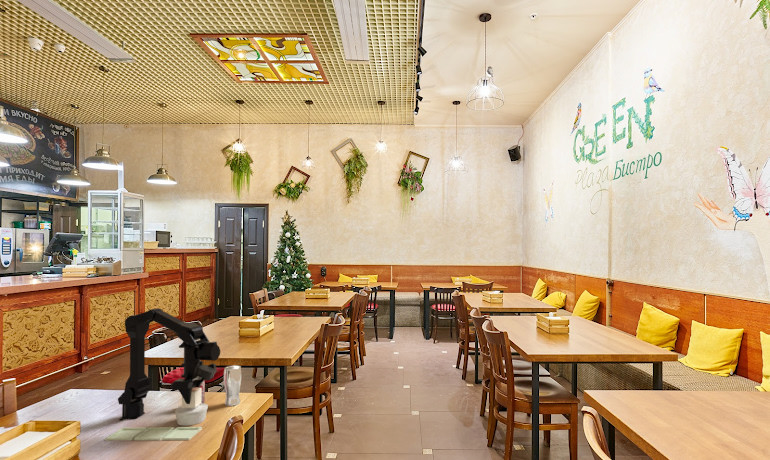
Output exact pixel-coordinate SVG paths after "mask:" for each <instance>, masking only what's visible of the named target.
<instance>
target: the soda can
mask: <svg viewBox="0 0 770 460" xmlns="http://www.w3.org/2000/svg"><path fill="white" fill-rule="evenodd" d="M205 381H206V380H204V381H203V382H202V383H201V386H200V388H202V399H201V403H204V404H205V399H206V397H205V392H206V389H205V388H206V386H205V385H206V384H205Z"/></svg>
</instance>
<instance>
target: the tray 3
mask: <svg viewBox="0 0 770 460" xmlns="http://www.w3.org/2000/svg"><path fill="white" fill-rule="evenodd" d="M202 429H203V427H202V426H180V427H179V426H177V427H176V428H174V430H173V431H171V432H170V433H169V434H168V435H166V436H165V437H164V438H162V441H190V440H191V439H193V437H195V436H196V435H197V434H198V433H199V432H200V431H202Z"/></svg>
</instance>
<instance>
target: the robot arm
mask: <svg viewBox="0 0 770 460" xmlns="http://www.w3.org/2000/svg"><path fill="white" fill-rule="evenodd" d="M152 322H155V323H157V324H159V325H161V326H163V327H165V328H166V329H168V330H170V331H172V332H174V333H175V334H176V336H177V338H178V339H180V340H181V341H182V343H180V344H179V345H178V348H179V349H183V362H182V363H181V367H183V373H182V374H181V376H180V377H181V378H177V379H176V380H174V381H173V382H172V383H171V384H170V385H171V386H170V387H171V388H170V389H171V391H172V390H178V391H179V393H180V394H181V398H182V397H183V398H184V400H185V402H186V404H190V400H191V392H192V389H193V388H197V387H199V388H200V386H201V383H202V382H203V381H210V380H211V379H214V376H215V374H216V373H218V372H217V364H216V363H213V362H212V363H211V364H209V365H208V364H207V365H205V364H204V361H217V360H218V359H219V358H220V355H221V349H220V346H219V345H218V342H217V341H210V340H209V338H208V337H207V335H206V333H205V332H204V329H203V326H201V325H199V324H196V323H192V322H185V321H183V320H181V319H179V318H177V317H175V316H174V315H171V314H169V313H168V312H165V311H164V310H162V309H161V308H159V307H158V308H152V309H148V310H147V311H145V312H142V313H137V314H132V315H129V316H127V318H125V320H124V328H125V333H126V334H127V335H128V337H129V377H128V378H127V379H126V382H125V385H124V391H123V393H121V395H119V397H118V398H117V401H118V405H122V409H121V413H122V415H121V417H120V418H119V420H120V421H124V420H137V419H139V418H140V417H142V416H143V415H145V414H146V412H145V404H144V399H146V398H147V396H148V393H149V392H150V388H151V387H152V384H151V381H152V379H151V376H147V374H146V373H145V366H146V365H145V362H146V361H145V360H146V359H145V356H146V355H145V347H146V346H145V345H146V344H145V343H146V342H145V339H146V338H145V337H146V335H147V333H148V331H149V329H150V324H151V323H152Z"/></svg>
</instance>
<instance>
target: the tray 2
mask: <svg viewBox="0 0 770 460" xmlns="http://www.w3.org/2000/svg"><path fill="white" fill-rule="evenodd" d="M174 429H175V427H174V426H173V427H172V426H170V427H169V426H168V427H167V426H165V427H164V426H163V427H149V428H148V427H147V430H145V431H144V432H143V433H141V434H140V435H138V436H137V437H135V438H134V439H133V441H161V440H163V438H164V437H165V436H167V435H168V434H169V433H170V432H172V431H173V430H174Z"/></svg>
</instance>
